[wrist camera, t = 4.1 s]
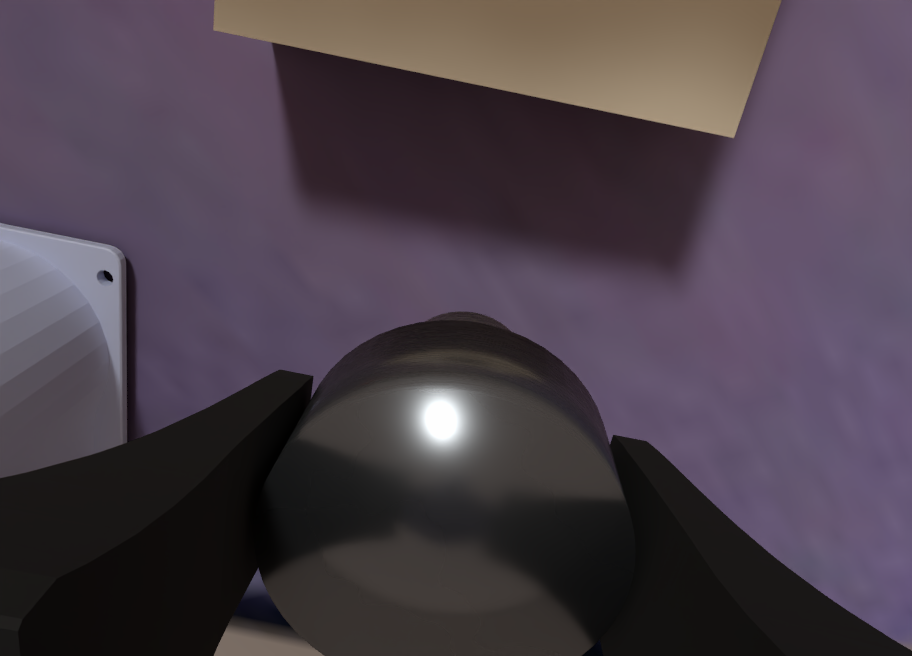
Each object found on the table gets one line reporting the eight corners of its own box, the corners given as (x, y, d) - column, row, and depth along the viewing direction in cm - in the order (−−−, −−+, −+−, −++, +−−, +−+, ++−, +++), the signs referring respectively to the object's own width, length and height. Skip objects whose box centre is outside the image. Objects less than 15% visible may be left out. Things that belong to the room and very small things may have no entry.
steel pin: (549, 492, 16) (578, 724, 10) (332, 449, 16) (241, 658, 10) (612, 286, 14) (689, 435, 8) (362, 235, 14) (269, 351, 8)
